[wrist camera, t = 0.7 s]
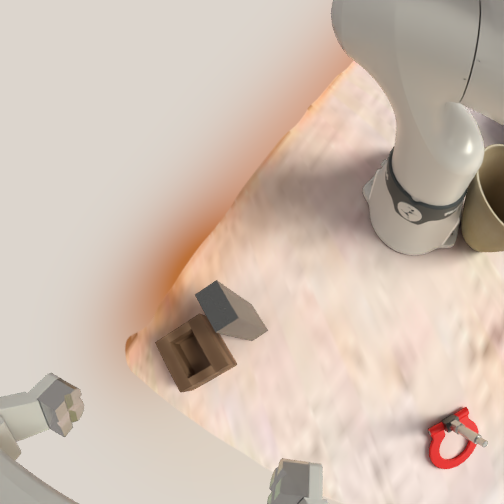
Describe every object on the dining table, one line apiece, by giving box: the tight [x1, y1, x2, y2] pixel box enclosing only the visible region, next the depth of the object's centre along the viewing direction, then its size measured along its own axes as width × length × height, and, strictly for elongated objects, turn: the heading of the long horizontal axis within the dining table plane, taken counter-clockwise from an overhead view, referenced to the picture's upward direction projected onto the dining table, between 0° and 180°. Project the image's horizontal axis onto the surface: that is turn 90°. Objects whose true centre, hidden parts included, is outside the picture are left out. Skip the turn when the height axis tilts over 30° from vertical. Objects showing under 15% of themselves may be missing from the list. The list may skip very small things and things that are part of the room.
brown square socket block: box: [155, 314, 237, 392], centre depth 45 cm, size 9×9×4 cm
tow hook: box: [428, 407, 488, 469], centre depth 26 cm, size 9×14×10 cm
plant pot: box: [461, 144, 504, 252], centre depth 35 cm, size 15×15×16 cm
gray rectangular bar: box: [195, 280, 268, 341], centre depth 40 cm, size 3×5×16 cm, turn 32°
